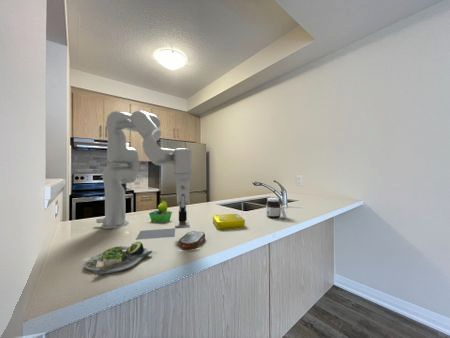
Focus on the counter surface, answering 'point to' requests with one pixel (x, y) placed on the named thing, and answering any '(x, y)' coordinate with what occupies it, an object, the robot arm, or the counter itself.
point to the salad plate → (117, 258)
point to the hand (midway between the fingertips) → (182, 219)
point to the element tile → (228, 221)
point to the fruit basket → (161, 213)
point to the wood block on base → (182, 224)
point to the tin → (192, 240)
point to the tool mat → (156, 233)
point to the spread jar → (274, 208)
